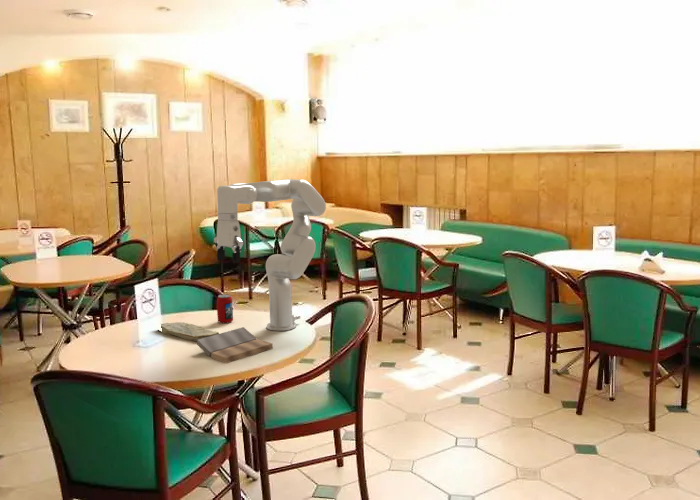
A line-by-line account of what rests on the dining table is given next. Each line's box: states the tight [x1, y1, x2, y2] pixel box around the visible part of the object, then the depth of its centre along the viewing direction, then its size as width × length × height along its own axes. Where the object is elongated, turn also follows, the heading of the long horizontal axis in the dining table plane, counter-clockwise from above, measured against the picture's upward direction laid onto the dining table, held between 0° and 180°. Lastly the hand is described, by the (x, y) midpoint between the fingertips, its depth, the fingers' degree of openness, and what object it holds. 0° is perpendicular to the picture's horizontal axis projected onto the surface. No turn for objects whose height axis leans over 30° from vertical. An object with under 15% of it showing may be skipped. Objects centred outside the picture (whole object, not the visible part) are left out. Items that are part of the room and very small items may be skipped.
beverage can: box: [216, 293, 234, 324], centre depth 287 cm, size 7×7×12 cm
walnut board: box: [210, 338, 274, 364], centre depth 244 cm, size 22×9×2 cm, turn 138°
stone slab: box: [160, 321, 220, 342], centre depth 270 cm, size 12×4×30 cm
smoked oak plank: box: [196, 326, 258, 357], centre depth 249 cm, size 22×9×2 cm, turn 138°
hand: (228, 261), depth 252 cm, fingers open, 9 cm apart
